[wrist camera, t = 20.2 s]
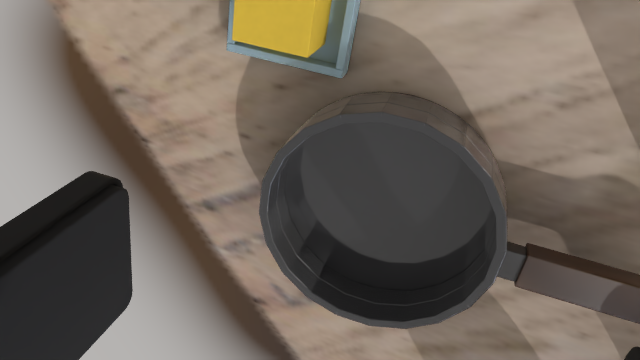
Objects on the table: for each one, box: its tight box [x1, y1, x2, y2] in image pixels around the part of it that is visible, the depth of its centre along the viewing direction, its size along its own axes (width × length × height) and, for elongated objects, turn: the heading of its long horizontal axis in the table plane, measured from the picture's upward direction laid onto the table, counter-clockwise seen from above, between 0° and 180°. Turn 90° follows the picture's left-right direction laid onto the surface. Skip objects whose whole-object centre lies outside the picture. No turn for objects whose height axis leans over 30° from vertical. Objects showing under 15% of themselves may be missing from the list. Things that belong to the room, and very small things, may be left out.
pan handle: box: [497, 242, 640, 324], centre depth 30 cm, size 2×10×1 cm, turn 82°
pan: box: [259, 92, 507, 329], centre depth 33 cm, size 15×15×4 cm
